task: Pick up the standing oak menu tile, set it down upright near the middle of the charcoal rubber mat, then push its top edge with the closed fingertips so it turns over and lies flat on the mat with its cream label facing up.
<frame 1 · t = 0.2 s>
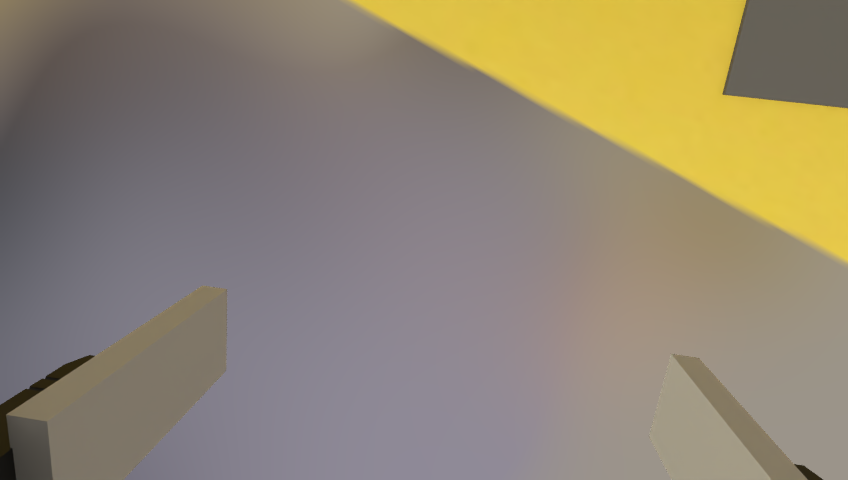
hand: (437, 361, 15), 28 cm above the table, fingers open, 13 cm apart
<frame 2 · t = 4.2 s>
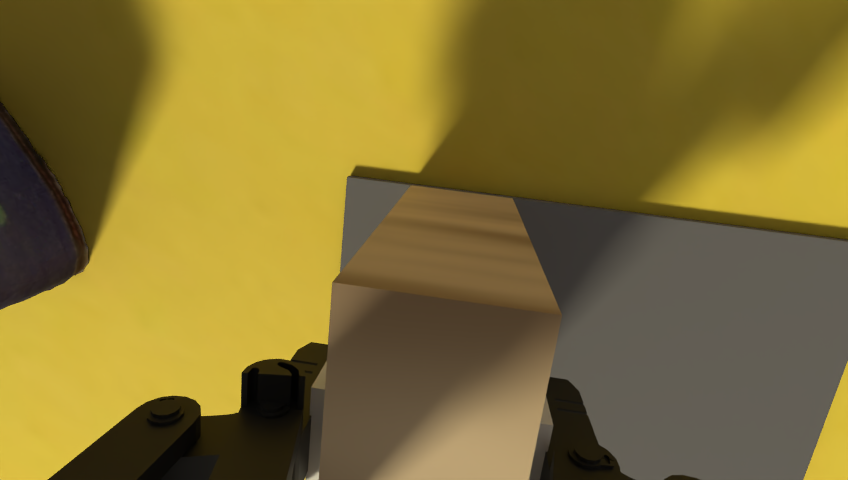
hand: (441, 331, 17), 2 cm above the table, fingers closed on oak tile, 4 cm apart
oak tile: (445, 312, 18), resting on mat, touching gripper
flask: (17, 170, 19), on the table
mat: (551, 465, 20), on the table
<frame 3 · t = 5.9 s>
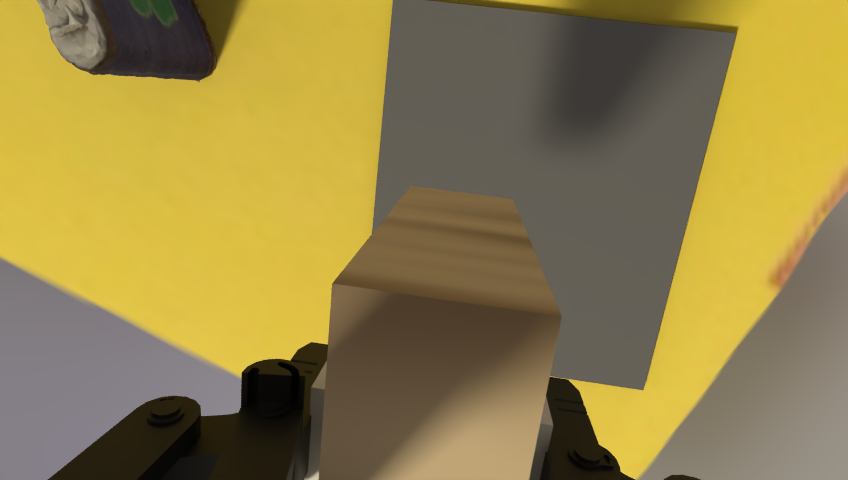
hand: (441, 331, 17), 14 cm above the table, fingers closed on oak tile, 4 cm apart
oak tile: (445, 313, 18), point 13 cm above the table, touching gripper
flask: (170, 3, 29), on the table
mat: (527, 207, 30), on the table
when the fingers open (3 cm above the table, at t = 8.0 s): oak tile stays where it is, resting on mat.
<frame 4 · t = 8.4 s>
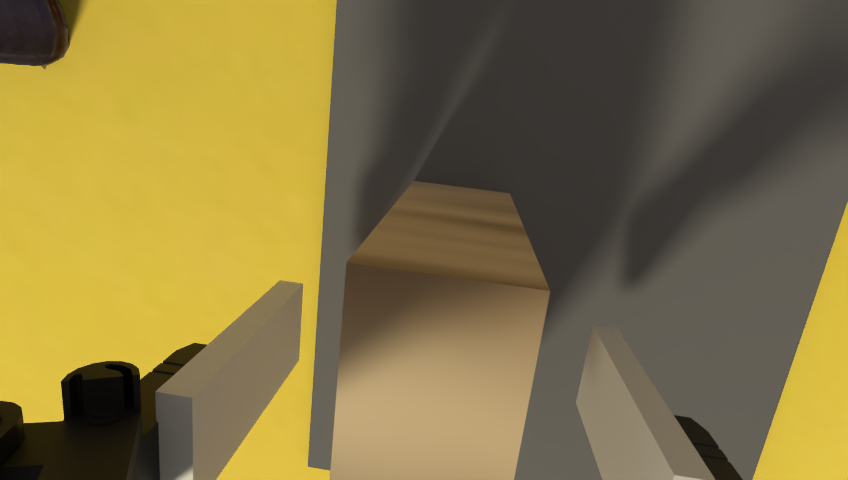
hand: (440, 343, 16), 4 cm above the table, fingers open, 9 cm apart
oak tile: (445, 302, 19), resting on mat
mat: (558, 264, 19), on the table
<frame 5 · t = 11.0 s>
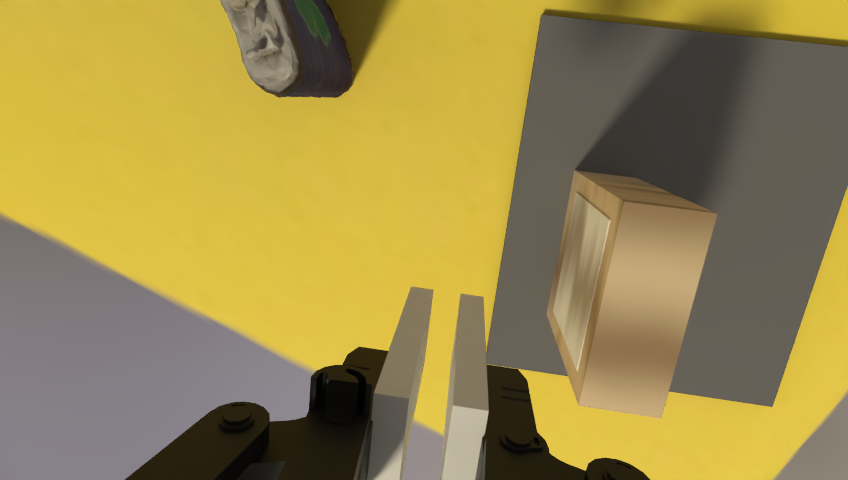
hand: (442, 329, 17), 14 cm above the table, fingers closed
oak tile: (589, 248, 30), resting on mat
flask: (308, 20, 29), on the table
mat: (663, 223, 30), on the table
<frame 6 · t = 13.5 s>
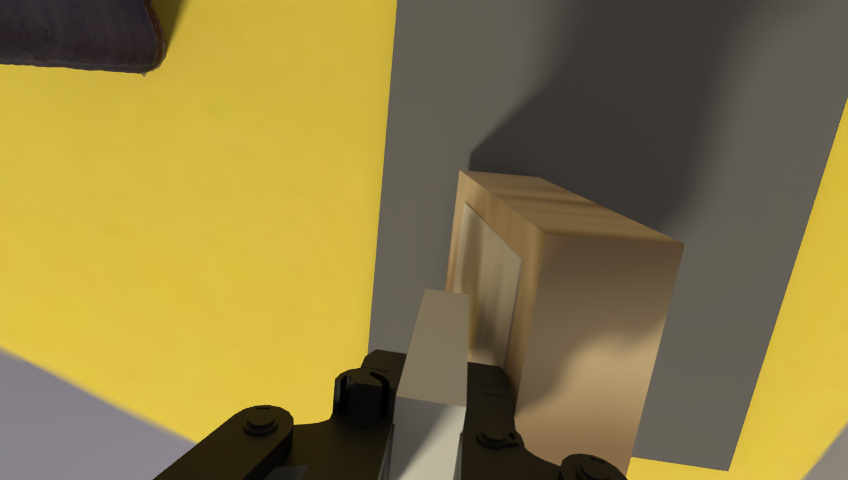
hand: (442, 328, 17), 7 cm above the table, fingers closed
oak tile: (485, 273, 23), point 1 cm above the table, tilted 13°, touching mat
mat: (579, 237, 22), on the table
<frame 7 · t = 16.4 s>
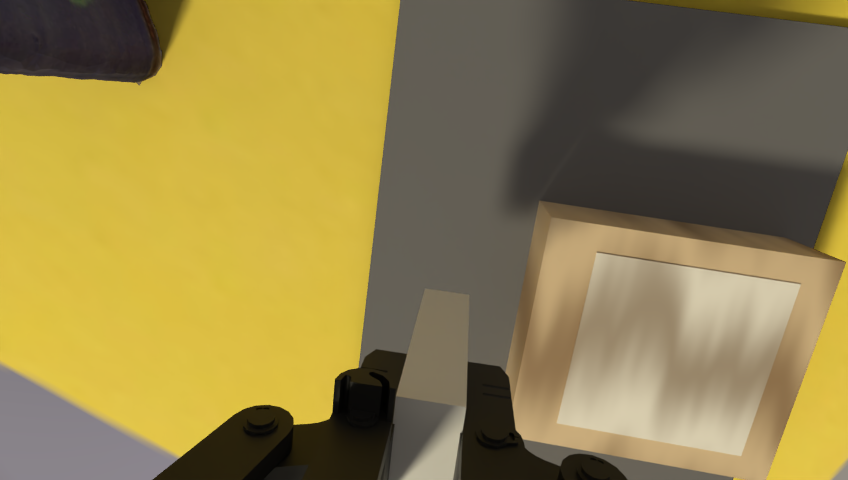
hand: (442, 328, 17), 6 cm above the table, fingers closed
oak tile: (523, 315, 21), point 2 cm above the table, tilted 90°, touching mat
mat: (577, 262, 22), on the table
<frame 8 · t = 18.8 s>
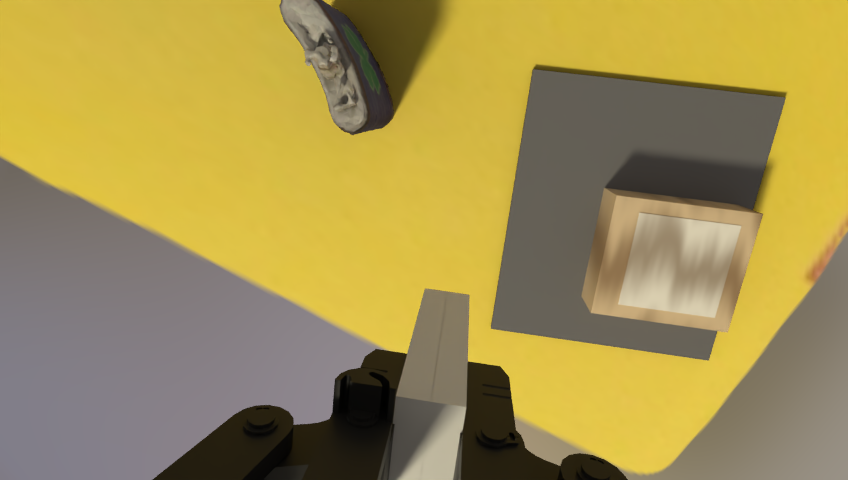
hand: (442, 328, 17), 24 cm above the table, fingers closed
oak tile: (597, 249, 38), point 2 cm above the table, tilted 90°, touching mat
flask: (360, 71, 39), on the table
mat: (624, 221, 40), on the table
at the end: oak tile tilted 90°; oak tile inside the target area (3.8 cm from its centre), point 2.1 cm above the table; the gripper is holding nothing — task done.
